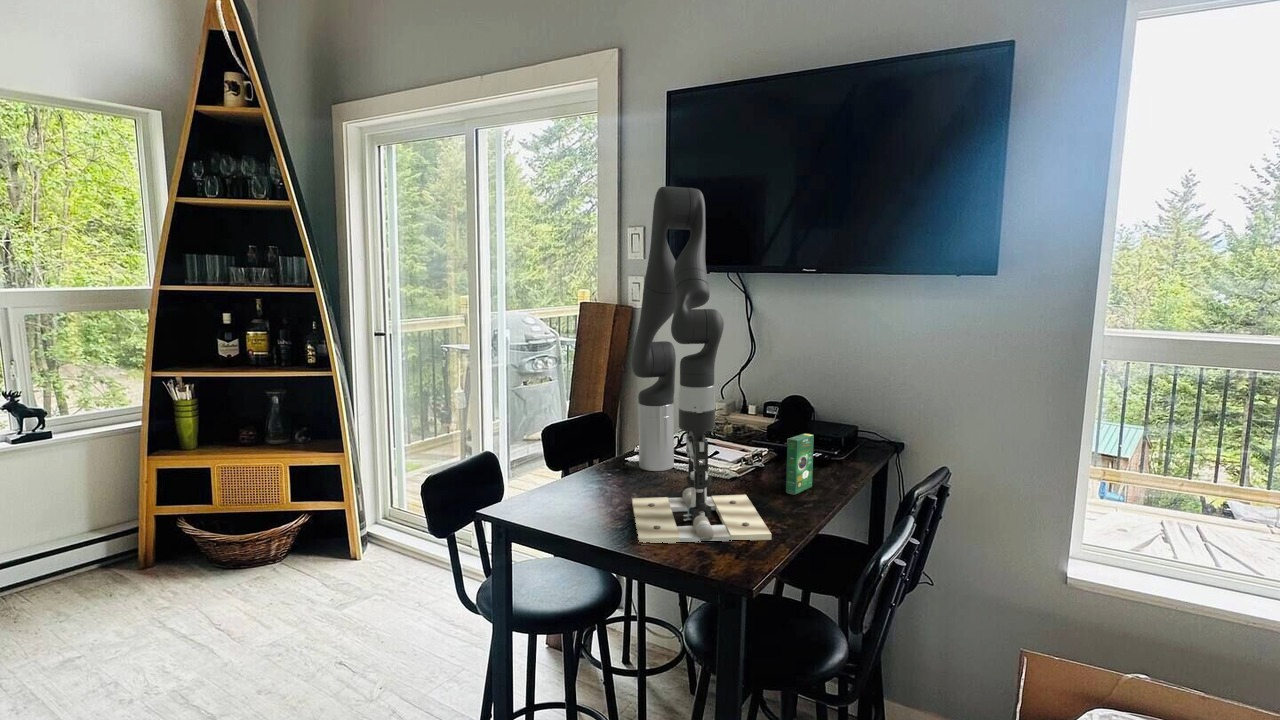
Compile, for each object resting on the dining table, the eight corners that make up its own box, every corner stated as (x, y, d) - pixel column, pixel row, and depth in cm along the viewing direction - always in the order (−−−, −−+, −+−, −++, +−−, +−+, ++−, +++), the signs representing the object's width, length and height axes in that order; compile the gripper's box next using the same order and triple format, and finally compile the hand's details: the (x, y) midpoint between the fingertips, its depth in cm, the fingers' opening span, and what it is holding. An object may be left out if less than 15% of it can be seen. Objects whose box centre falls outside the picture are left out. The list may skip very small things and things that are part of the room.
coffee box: (802, 484, 171) (804, 431, 169) (813, 487, 169) (814, 433, 167) (784, 492, 165) (786, 438, 163) (795, 495, 163) (797, 440, 161)
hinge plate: (632, 503, 159) (632, 489, 158) (746, 499, 161) (746, 486, 160) (638, 544, 136) (638, 528, 136) (771, 539, 138) (771, 524, 137)
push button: (691, 526, 145) (691, 479, 144) (676, 518, 149) (676, 473, 148) (716, 519, 149) (716, 474, 147) (701, 512, 153) (701, 467, 152)
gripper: (674, 399, 152) (674, 472, 154) (683, 414, 138) (683, 494, 140) (709, 398, 152) (708, 471, 154) (721, 413, 138) (720, 493, 140)
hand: (696, 482), depth 147 cm, fingers open, 8 cm apart
